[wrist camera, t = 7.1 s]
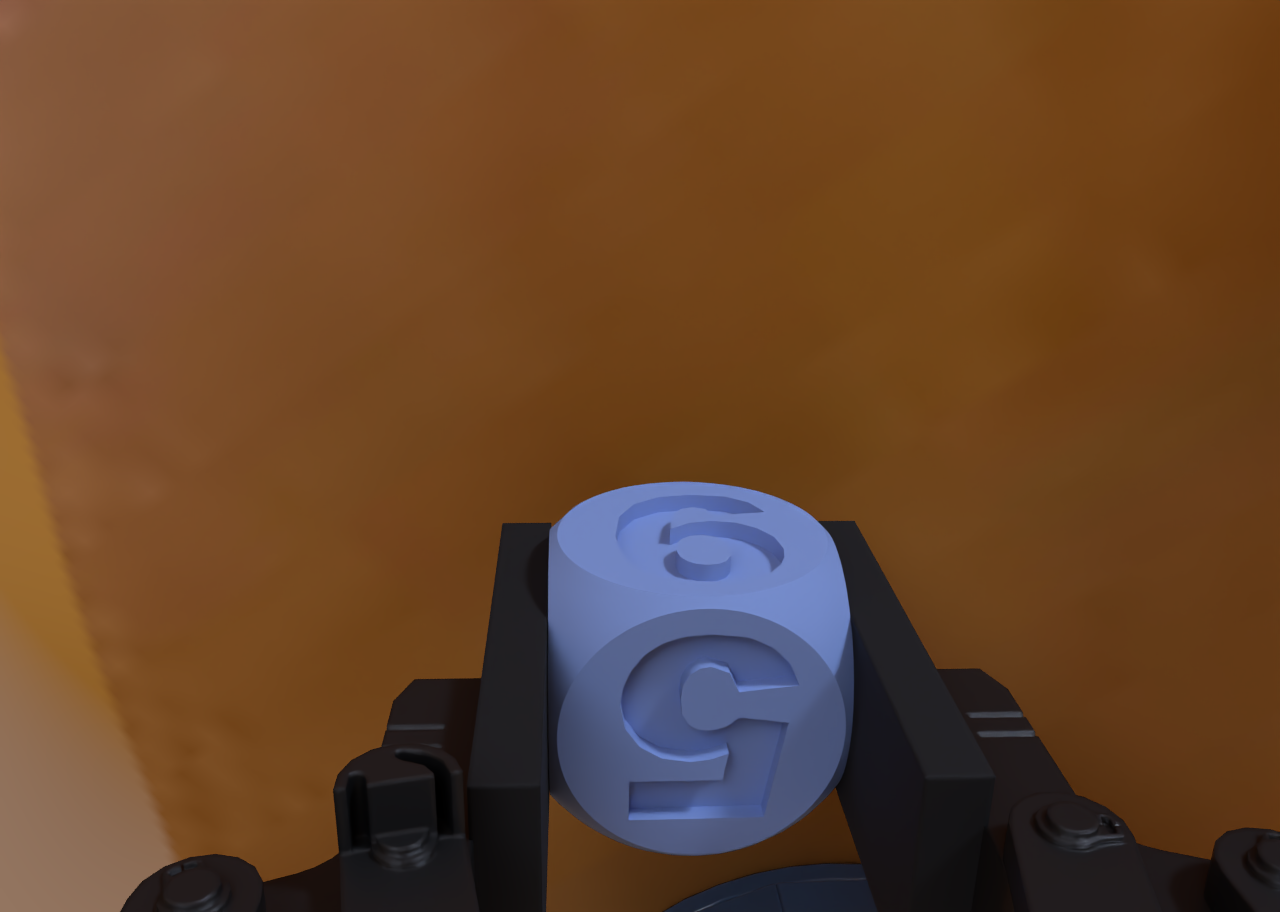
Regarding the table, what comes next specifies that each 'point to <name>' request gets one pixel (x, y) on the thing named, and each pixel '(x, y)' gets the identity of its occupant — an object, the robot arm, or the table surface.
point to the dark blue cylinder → (788, 891)
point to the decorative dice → (695, 666)
